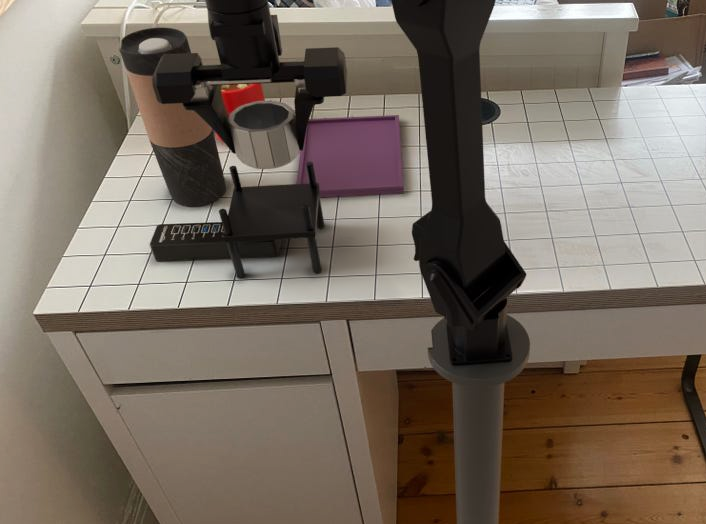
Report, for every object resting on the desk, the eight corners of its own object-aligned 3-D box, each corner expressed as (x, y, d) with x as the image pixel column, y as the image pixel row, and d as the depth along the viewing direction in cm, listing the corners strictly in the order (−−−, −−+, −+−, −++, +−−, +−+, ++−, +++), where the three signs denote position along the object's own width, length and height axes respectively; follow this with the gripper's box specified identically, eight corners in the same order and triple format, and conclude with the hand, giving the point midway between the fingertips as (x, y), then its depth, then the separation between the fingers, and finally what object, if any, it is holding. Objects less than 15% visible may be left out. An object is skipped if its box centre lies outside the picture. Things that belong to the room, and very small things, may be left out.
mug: (196, 117, 114) (181, 66, 108) (275, 118, 114) (265, 67, 108) (181, 144, 108) (165, 92, 102) (265, 144, 108) (253, 92, 102)
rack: (322, 274, 88) (310, 208, 81) (235, 279, 87) (216, 214, 80) (325, 224, 95) (314, 160, 88) (245, 228, 94) (228, 164, 87)
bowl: (299, 169, 81) (291, 130, 78) (234, 172, 80) (224, 133, 77) (302, 137, 86) (295, 99, 82) (241, 140, 85) (232, 102, 82)
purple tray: (403, 193, 100) (403, 186, 99) (296, 199, 98) (295, 191, 98) (399, 121, 113) (398, 114, 112) (305, 125, 112) (304, 119, 111)
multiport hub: (277, 256, 90) (274, 241, 88) (154, 261, 89) (148, 245, 87) (282, 234, 93) (278, 219, 91) (162, 239, 92) (157, 223, 90)
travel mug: (240, 186, 100) (201, 36, 86) (197, 214, 96) (148, 60, 82) (200, 170, 103) (155, 21, 89) (156, 196, 99) (102, 44, 84)
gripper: (338, -30, 78) (354, 111, 89) (152, -25, 76) (193, 118, 87) (335, 11, 70) (354, 160, 81) (129, 19, 69) (177, 169, 80)
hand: (269, 150), depth 83 cm, fingers closed on bowl, 7 cm apart
